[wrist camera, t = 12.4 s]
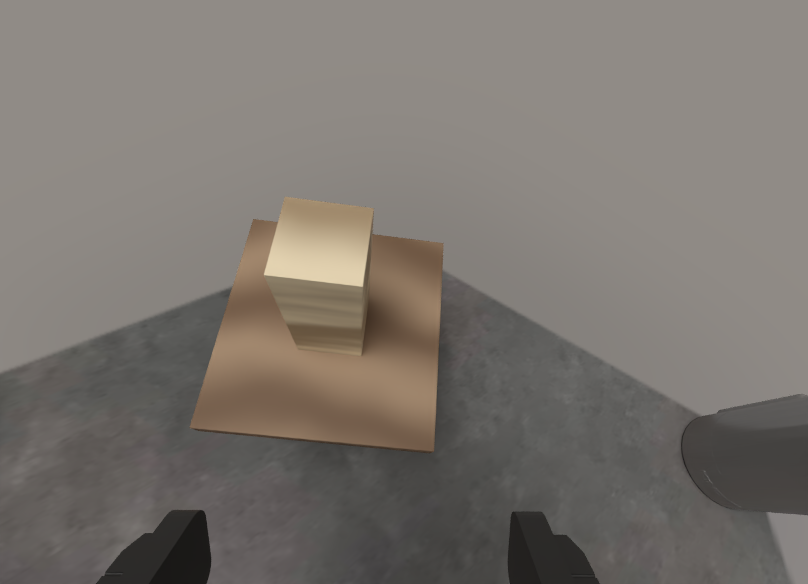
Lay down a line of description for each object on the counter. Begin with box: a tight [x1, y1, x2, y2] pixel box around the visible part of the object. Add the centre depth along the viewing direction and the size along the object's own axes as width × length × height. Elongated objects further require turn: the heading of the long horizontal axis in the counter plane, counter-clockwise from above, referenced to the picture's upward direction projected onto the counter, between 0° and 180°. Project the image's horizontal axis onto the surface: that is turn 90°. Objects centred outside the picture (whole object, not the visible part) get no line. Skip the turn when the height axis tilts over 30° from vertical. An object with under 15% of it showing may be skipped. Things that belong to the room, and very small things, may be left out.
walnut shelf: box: [190, 219, 443, 453], centre depth 34 cm, size 14×14×18 cm
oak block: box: [264, 197, 374, 356], centre depth 21 cm, size 4×4×10 cm
